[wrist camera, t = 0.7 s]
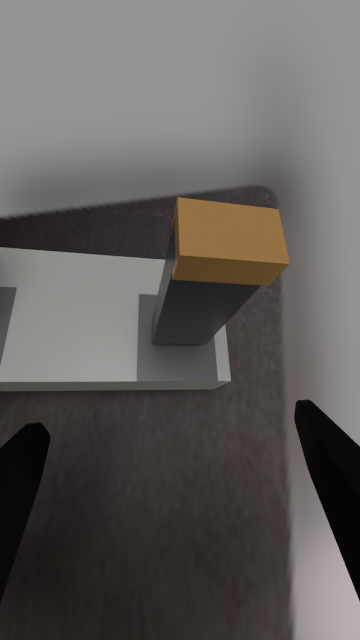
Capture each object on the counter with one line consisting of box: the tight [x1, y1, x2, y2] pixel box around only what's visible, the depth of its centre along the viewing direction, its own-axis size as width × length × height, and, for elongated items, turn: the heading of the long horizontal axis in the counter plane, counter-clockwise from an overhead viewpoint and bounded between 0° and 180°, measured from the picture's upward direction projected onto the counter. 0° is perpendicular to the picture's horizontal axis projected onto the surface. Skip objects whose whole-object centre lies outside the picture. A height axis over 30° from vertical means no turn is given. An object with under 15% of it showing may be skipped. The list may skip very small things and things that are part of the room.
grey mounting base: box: [0, 247, 231, 391], centre depth 19 cm, size 9×20×4 cm, turn 92°
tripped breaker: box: [152, 198, 290, 344], centre depth 13 cm, size 2×4×10 cm, turn 92°
